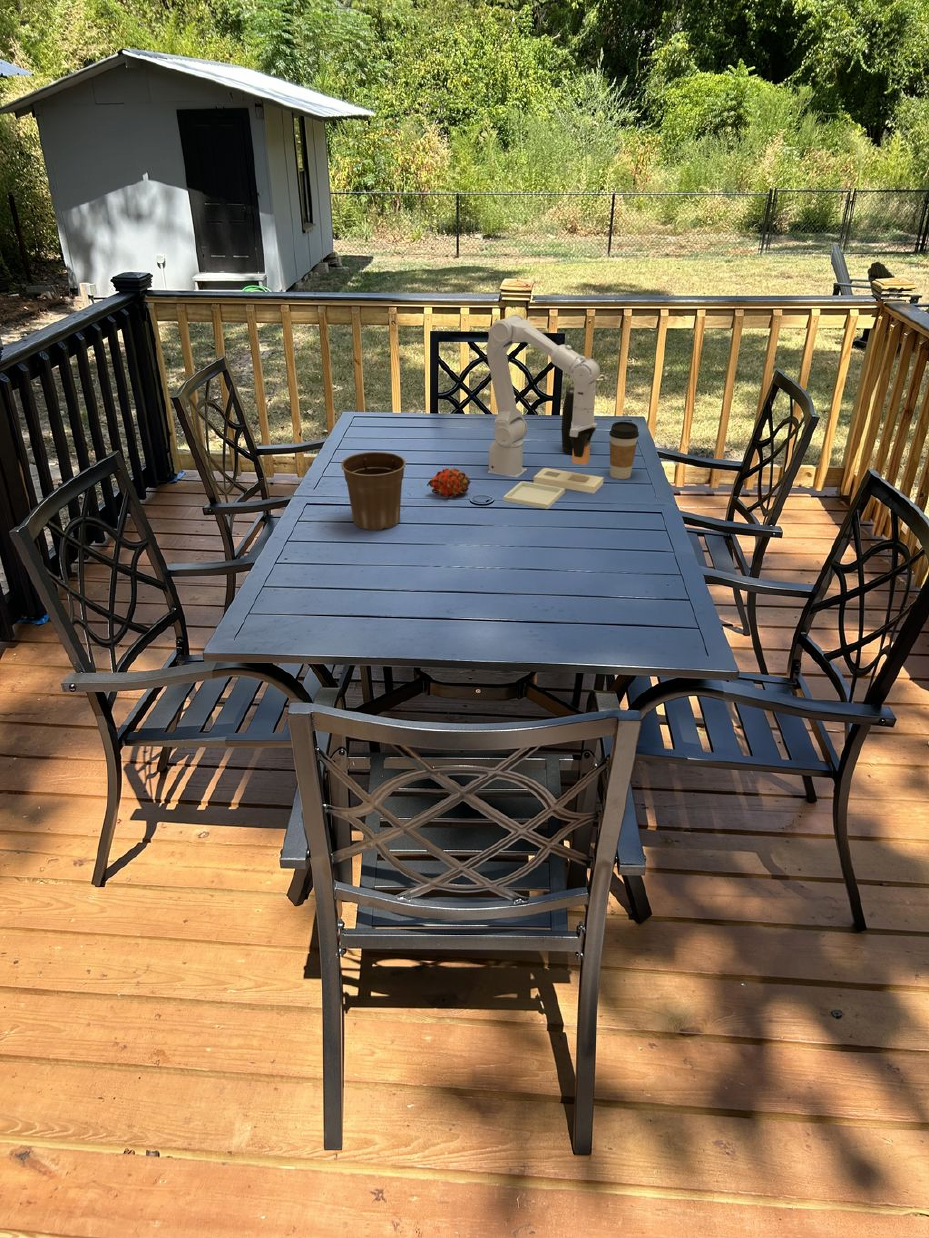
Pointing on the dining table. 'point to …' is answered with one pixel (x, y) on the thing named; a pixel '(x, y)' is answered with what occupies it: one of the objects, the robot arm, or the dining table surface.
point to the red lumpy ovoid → (449, 483)
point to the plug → (585, 457)
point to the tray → (534, 495)
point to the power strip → (568, 480)
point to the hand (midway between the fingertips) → (580, 454)
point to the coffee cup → (622, 449)
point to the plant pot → (374, 488)
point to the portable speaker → (567, 421)
